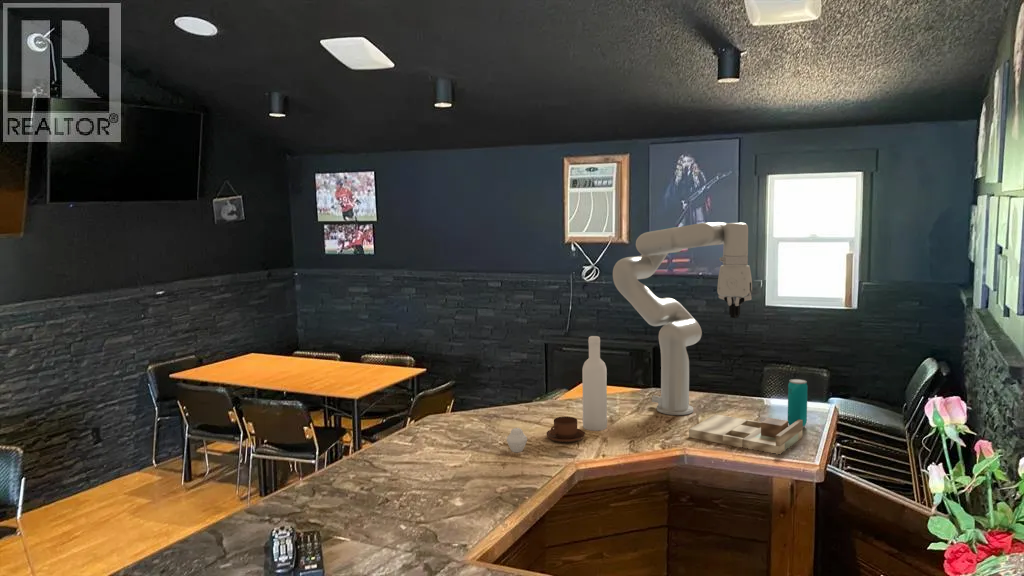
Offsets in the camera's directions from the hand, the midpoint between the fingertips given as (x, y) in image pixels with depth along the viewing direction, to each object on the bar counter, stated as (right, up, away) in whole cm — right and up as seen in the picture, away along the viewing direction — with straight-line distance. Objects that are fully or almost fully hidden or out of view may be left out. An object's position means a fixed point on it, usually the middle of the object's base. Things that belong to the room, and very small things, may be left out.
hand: (734, 317), depth 234 cm
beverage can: (+20, -35, -2) cm, 40 cm away
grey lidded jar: (-71, -39, -20) cm, 83 cm away
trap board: (0, -37, -12) cm, 38 cm away
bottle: (-45, -36, +1) cm, 58 cm away
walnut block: (+7, -35, -17) cm, 39 cm away
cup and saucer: (-56, -38, -10) cm, 68 cm away
